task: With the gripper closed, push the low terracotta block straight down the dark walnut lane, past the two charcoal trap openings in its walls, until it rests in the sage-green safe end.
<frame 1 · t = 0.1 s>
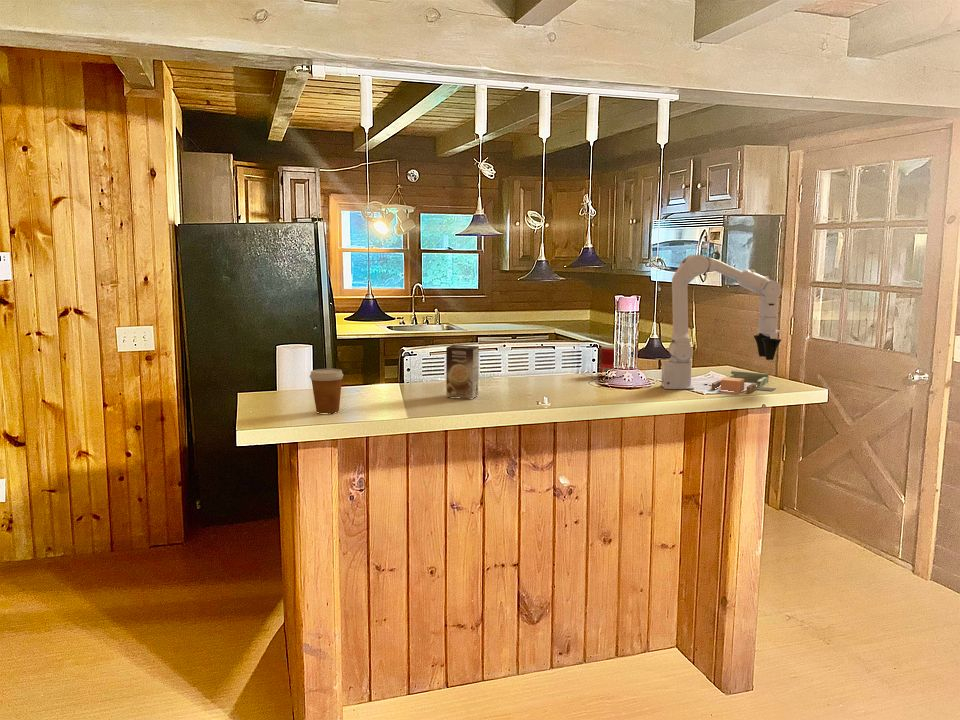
hand: (766, 358, 252), 10 cm above the table, fingers open, 7 cm apart
disposable coffee cup: (327, 413, 219), on the table
trap lane: (732, 390, 249), on the table
block: (732, 391, 249), on the table
coffee box: (462, 397, 240), on the table
trap pads: (738, 386, 256), on the table
canned food: (611, 376, 278), on the table
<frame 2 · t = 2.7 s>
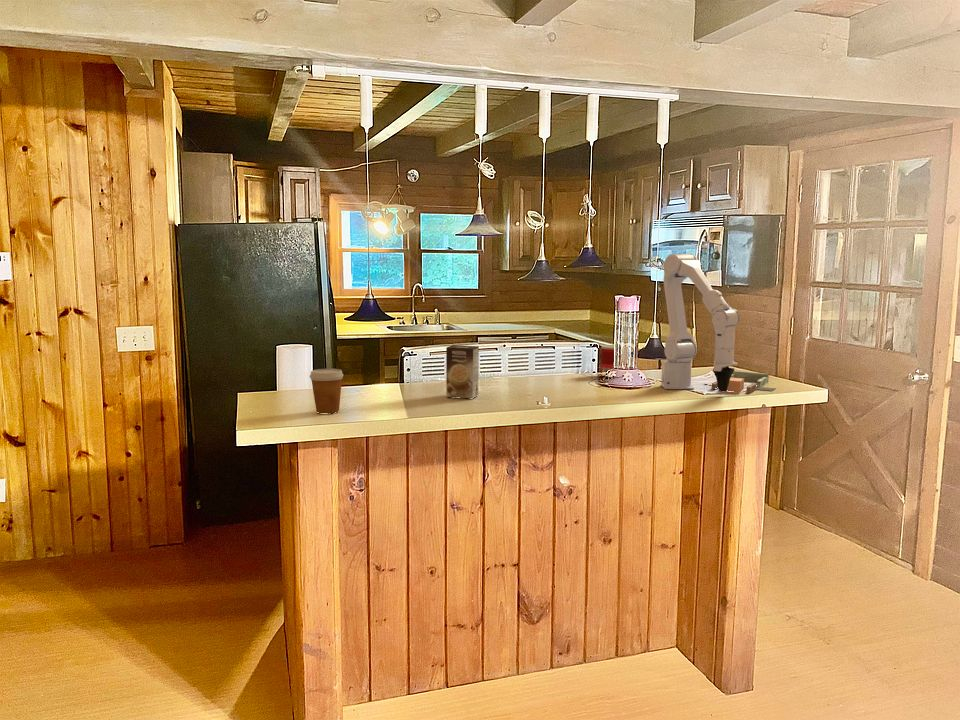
hand: (722, 391, 240), 2 cm above the table, fingers closed
nothing on the table moved.
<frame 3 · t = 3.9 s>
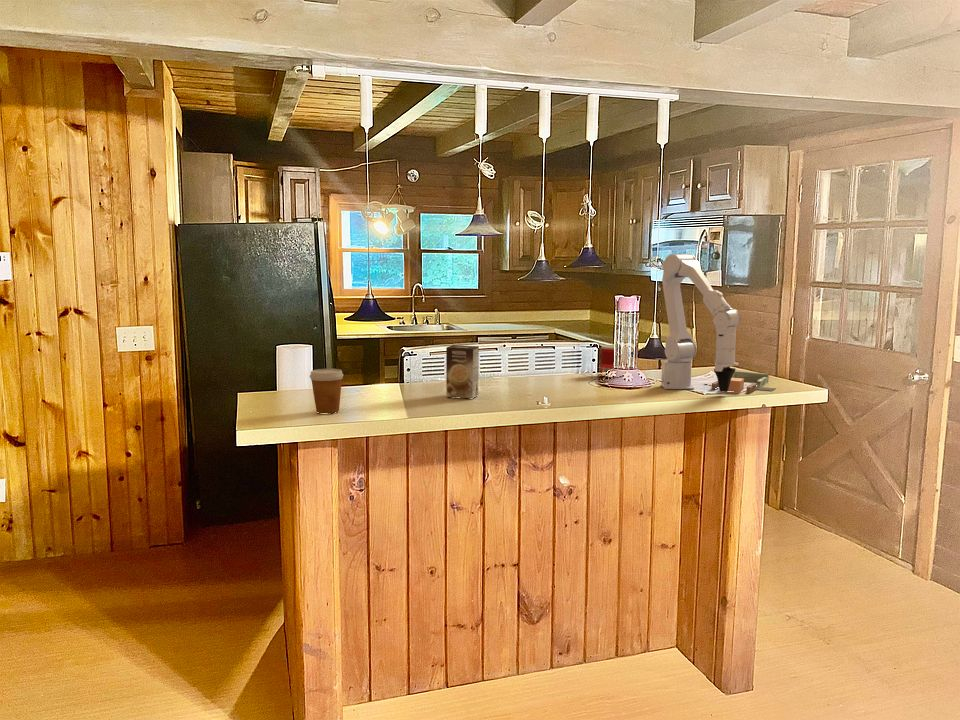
hand: (723, 391, 241), 1 cm above the table, fingers closed
nothing on the table moved.
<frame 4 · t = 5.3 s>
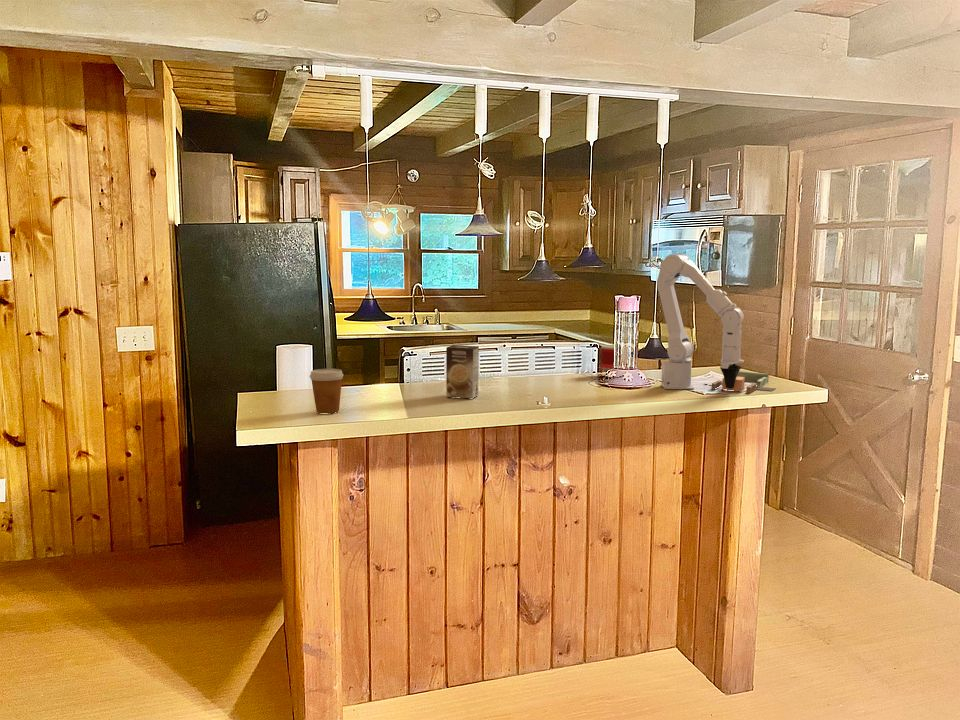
hand: (729, 387, 246), 1 cm above the table, fingers closed
block: (733, 389, 250), on the table, touching gripper
everything else where it was.
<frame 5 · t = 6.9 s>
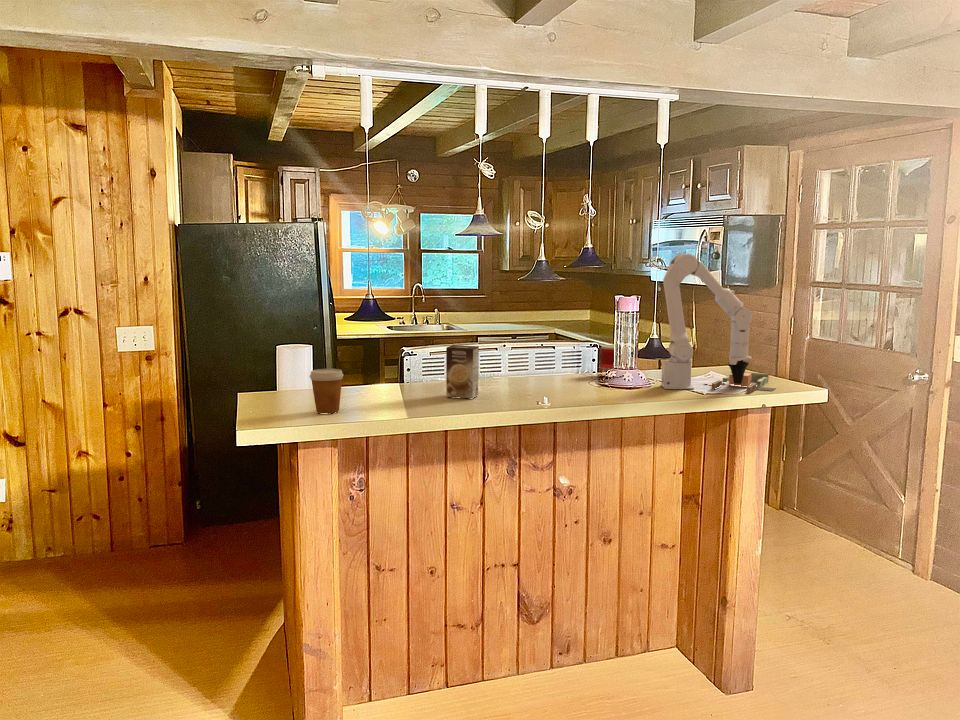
hand: (737, 383, 254), 1 cm above the table, fingers closed
block: (740, 385, 258), on the table, touching gripper
everything else where it was.
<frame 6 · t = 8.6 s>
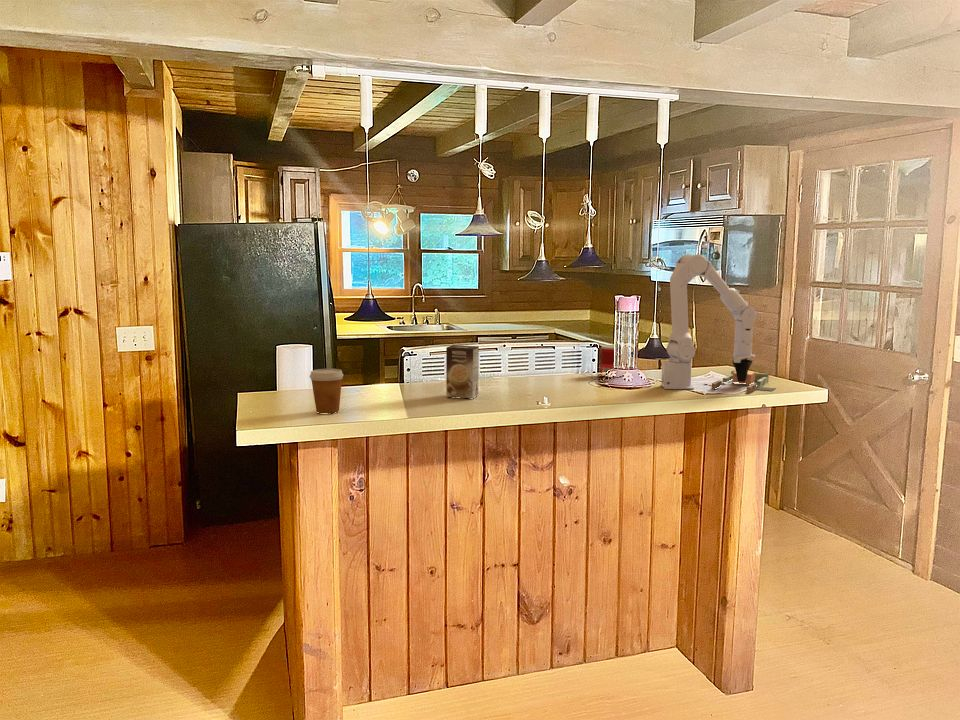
hand: (741, 381, 258), 1 cm above the table, fingers closed
block: (743, 384, 262), on the table
everything else where it was.
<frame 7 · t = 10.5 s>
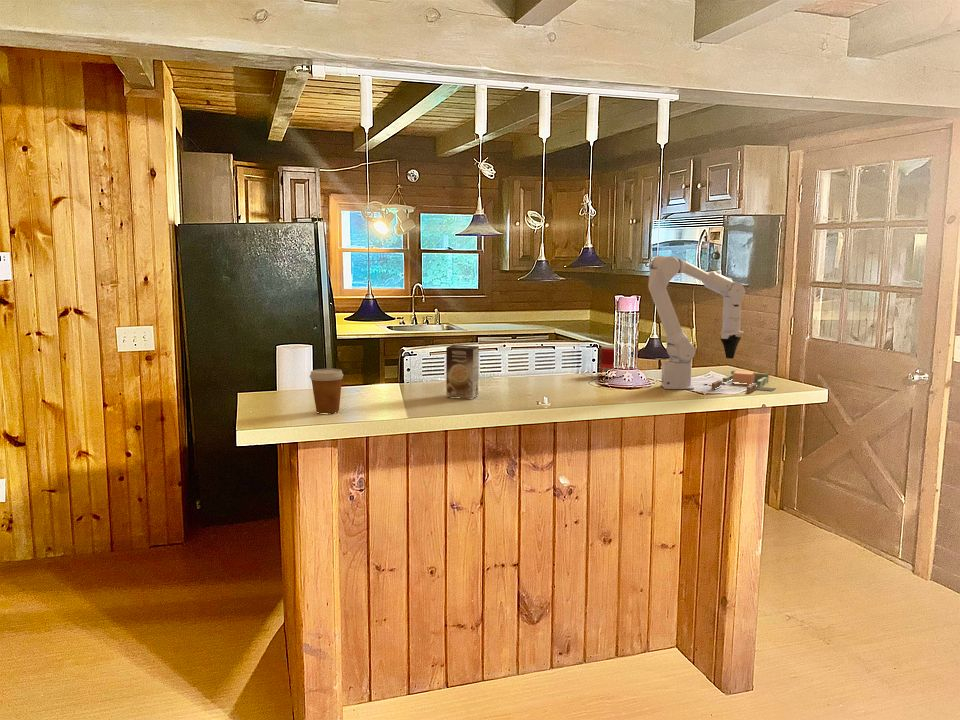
hand: (729, 358, 256), 9 cm above the table, fingers closed
nothing on the table moved.
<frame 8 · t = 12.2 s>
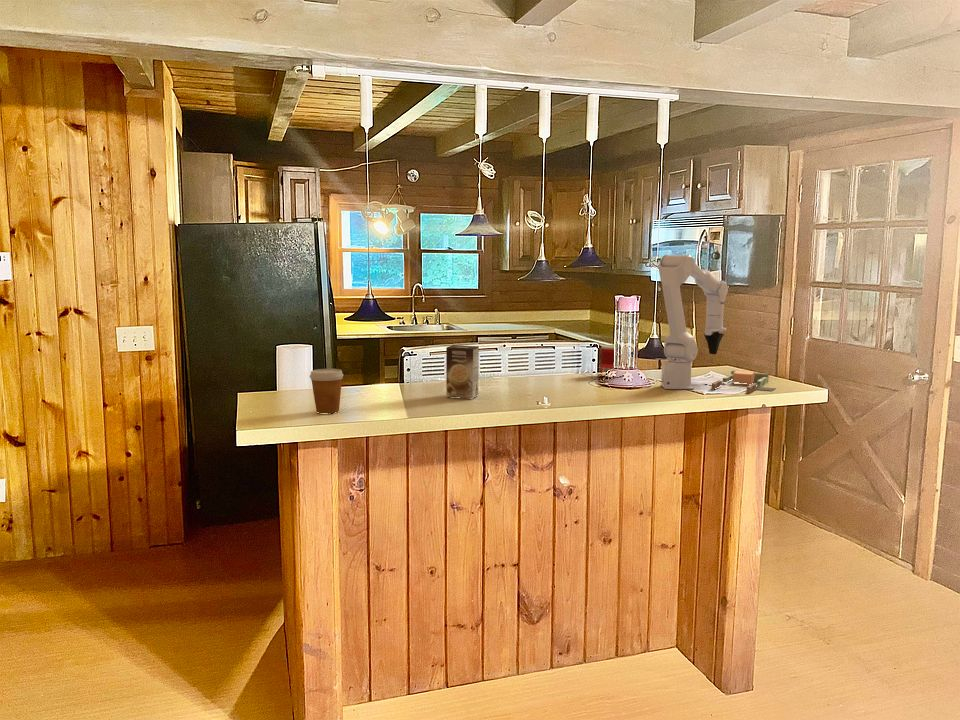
hand: (713, 353, 267), 9 cm above the table, fingers closed
nothing on the table moved.
at the end: block inside the target area on the trap lane (0.4 cm from its centre), point 0.0 cm above the trap lane's base; block tilted 0° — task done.
